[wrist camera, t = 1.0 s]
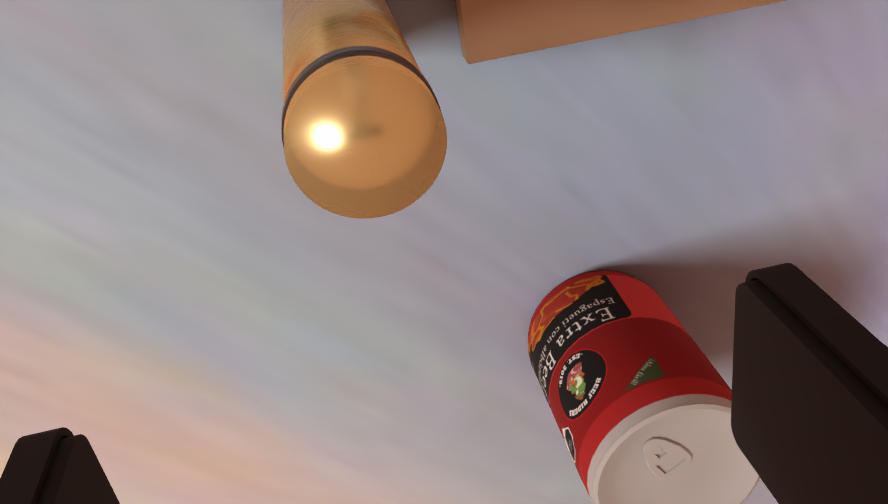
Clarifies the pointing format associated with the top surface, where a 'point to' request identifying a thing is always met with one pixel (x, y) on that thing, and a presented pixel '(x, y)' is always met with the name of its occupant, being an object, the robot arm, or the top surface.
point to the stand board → (569, 21)
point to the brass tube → (356, 109)
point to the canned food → (635, 396)
